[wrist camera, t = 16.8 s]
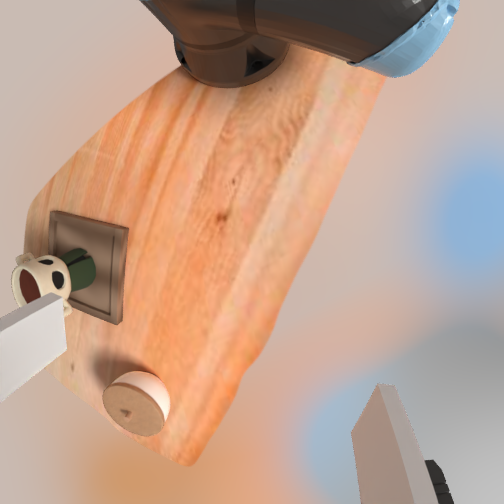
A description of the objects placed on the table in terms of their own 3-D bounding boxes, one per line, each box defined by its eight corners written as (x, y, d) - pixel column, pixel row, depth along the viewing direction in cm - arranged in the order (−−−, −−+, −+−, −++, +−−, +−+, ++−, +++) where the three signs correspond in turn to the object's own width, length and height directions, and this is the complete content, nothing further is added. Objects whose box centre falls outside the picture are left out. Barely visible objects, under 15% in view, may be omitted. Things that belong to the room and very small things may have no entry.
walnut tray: (57, 210, 42) (50, 211, 40) (128, 228, 41) (122, 229, 39) (55, 293, 45) (49, 297, 44) (122, 320, 44) (116, 325, 42)
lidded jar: (113, 371, 47) (85, 400, 38) (151, 351, 44) (124, 383, 35) (149, 414, 48) (129, 447, 39) (191, 400, 46) (172, 437, 37)
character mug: (115, 278, 41) (60, 309, 29) (95, 305, 43) (43, 339, 31) (73, 226, 41) (12, 241, 28) (55, 256, 43) (-1, 277, 30)
